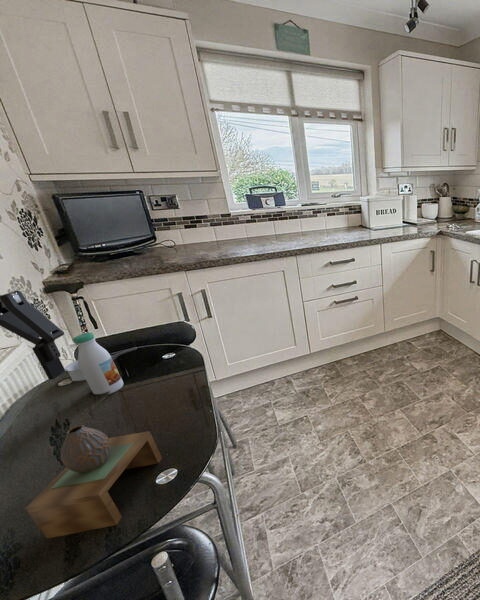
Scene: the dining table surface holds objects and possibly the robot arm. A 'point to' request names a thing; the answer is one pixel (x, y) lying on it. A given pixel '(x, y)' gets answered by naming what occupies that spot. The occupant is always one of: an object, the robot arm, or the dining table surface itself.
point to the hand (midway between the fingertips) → (17, 381)
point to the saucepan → (76, 371)
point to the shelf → (90, 490)
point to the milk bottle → (97, 365)
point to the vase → (85, 449)
